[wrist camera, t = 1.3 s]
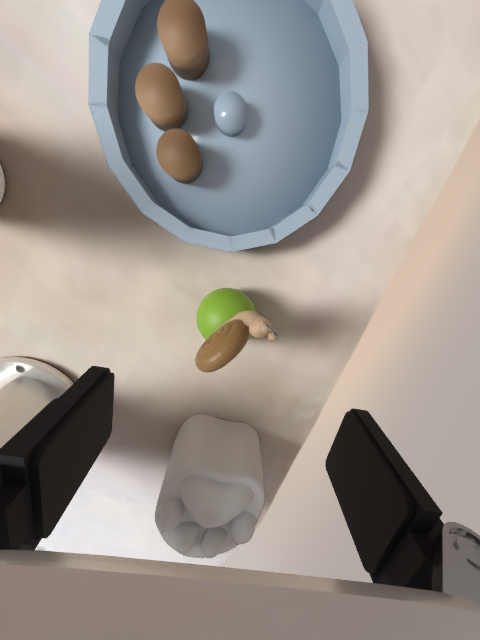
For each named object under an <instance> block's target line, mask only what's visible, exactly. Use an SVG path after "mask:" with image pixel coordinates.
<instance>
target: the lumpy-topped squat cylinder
mask: <svg viewBox="0 0 480 640" xmlns="http://www.w3.org/2000/svg"><path fill="white" fill-rule="evenodd" d="M264 502H265V487H264V478H263V469H262V460H261V452H260V443H259V436H258V434H257V432H256V430H255V429H254V428H253V427H252V426H251V425H249V424H246V423H241V422H231V421H225V420H222V419H219V418H216V417H214V416H211V415H206V414H198V415H195V416H192V417H190V418H189V419H187V420H186V421H185V422H184V423H183V424H182V426H181V427H180V429H179V432H178V434H177V437H176V439H175V442H174V445H173V449H172V452H171V456H170V459H169V463H168V466H167V470H166V473H165V477H164V480H163V484H162V487H161V491H160V494H159V498H158V502H157V506H156V512H155V522H156V525H157V527H158V530H159V532H160V534H161V535H162V537H163V539H164V540H165V542H166V543H167V544H168V545H169V546H170V547H172V548H173V549H174V550H176V551H177V552H179V553H180V554H182V555H185V556H188V557H196V558H204V557H205V558H213V557H215V556H216V555H218V554H221V553H224V552H227V551H229V550H230V549H232V548H234V547H236V546H237V545H239V544H245V543H247V542H248V541H249V540H250V539H251V537H252V535H253V533H254V530H255V525H256V523H257V521H258V519H259V517H260V514H261V511H262V508H263V505H264Z"/></svg>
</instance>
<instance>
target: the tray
mask: <svg viewBox="0 0 480 640" xmlns="http://www.w3.org/2000/svg"><path fill="white" fill-rule="evenodd" d="M165 1H166V0H102V1H101V3H100V6H99V9H98V11H97V14H96V17H95V19H94V22H93V25H92V27H91V30H90V33H89V107H90V110H91V114H92V117H93V120H94V123H95V126H96V129H97V133H98V136H99V139H100V142H101V145H102V148H103V151H104V155H105V158H106V161H107V164H108V167H109V168H110V170H111V171H112V172H113V174H114V175H115V177H116V178H117V179H118V181H119V182H120V183H121V185H122V186H123V188H124V189H125V190H126V192H127V193H128V194H129V196H130V197H131V199H132V200H133V201H134V203H135V204H136V205H137V207H138V208H139V210H140V211H141V212H142V214H144V215H145V216H147V217H148V218H150V219H151V220H153V221H154V222H156V223H157V224H159V225H160V226H161V227H163V228H164V229H166V230H167V231H169V232H170V233H172V234H173V235H175V236H176V237H178V238H179V239H181V240H182V241H184V242H186V243H191V244H195V245H200V246H205V247H209V248H214V249H219V250H223V251H228V252H234V251H239V250H244V249H249V248H254V247H259V246H264V245H269V244H274V243H277V242H279V241H280V240H282V239H283V238H285V237H286V236H288V235H289V234H291V233H292V232H294V231H295V230H297V229H298V228H300V227H301V226H303V225H304V224H306V223H307V222H309V221H310V220H312V219H313V218H315V217H316V216H318V214H319V213H320V212H321V210H322V209H323V207H324V206H325V205H326V203H327V202H328V201H329V199H330V198H331V196H332V195H333V194H334V192H335V191H336V189H337V188H338V187H339V185H340V184H341V183H342V181H343V180H344V178H345V177H346V176H347V174H348V173H349V172H350V169H351V166H352V163H353V160H354V156H355V153H356V150H357V147H358V143H359V140H360V137H361V134H362V131H363V127H364V124H365V121H366V118H367V114H368V111H369V98H368V40H367V38H366V35H365V32H364V29H363V27H362V24H361V21H360V18H359V16H358V13H357V10H356V7H355V4H354V2H353V0H194V1H195V2H196V3H197V4H198V6H199V7H200V9H201V11H202V13H203V16H204V19H205V24H206V31H207V38H208V45H209V53H210V58H209V64H208V67H207V69H206V71H205V73H204V74H203V75H202V76H201V77H200V78H198V79H196V80H184V79H182V78H180V77H179V76H178V75H177V74H176V73H175V72H174V71H173V69H172V68H171V66H170V63H169V61H168V58H167V56H166V53H165V50H164V48H163V45H162V43H161V40H160V38H159V34H158V28H157V20H158V14H159V11H160V8H161V6H162V5H163V3H164V2H165ZM150 63H161V64H164V65H166V66H167V67H169V68H170V69H171V70H172V71H173V72H174V74H175V75H176V77H177V79H178V81H179V84H180V86H181V89H182V92H183V94H184V97H185V100H186V103H187V109H188V112H187V118H186V121H185V123H184V125H183V126H182V127H181V128H180V129H181V130H184V131H186V132H187V133H189V134H190V135H191V136H192V137H193V139H194V140H195V142H196V144H197V146H198V149H199V151H200V153H201V156H202V160H203V168H202V172H201V174H200V176H199V177H198V178H197V179H196V180H195V181H194V182H192V183H188V184H183V183H179V182H177V181H176V180H174V179H173V178H172V177H171V176H169V175H168V174H167V173H166V172H165V171H164V170H163V169H162V168H161V166H160V164H159V162H158V159H157V155H156V147H157V143H158V140H159V138H160V137H161V135H162V134H163V133H164V131H162V130H160V129H158V128H157V127H156V126H155V125H154V124H153V122H152V121H151V120H150V118H149V117H148V116H147V114H146V113H145V112H144V110H143V109H142V108H141V106H140V104H139V102H138V100H137V97H136V92H135V83H136V78H137V76H138V74H139V72H140V70H141V69H142V68H143V67H144V66H146V65H148V64H150Z"/></svg>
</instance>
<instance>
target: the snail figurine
mask: <svg viewBox="0 0 480 640" xmlns="http://www.w3.org/2000/svg"><path fill="white" fill-rule="evenodd" d="M197 325H198V328H199V331H200V333H201V334H202V336H203V337H204V338H205V339H206V341H205V342H204V343H203V345H202V346H201V348H200V349H199V351H198V353H197V355H196V359H195V362H196V366H197V368H198V369H199V370H201V371H202V372H213V371H216V370H218V369H220V368H222V367H223V366H225V365H226V364H228V363H229V362H230V361H231V360H232V359H234V358H235V357H236V356H237V355H238V354H239V352H240V351H241V350H242V349H243V347H244V346H245V345H246V343H247V341H248V339H249V338H250V337H251V335H252V336H253V337H255V338H263V337H265V336H267V335H268V339H269V340H270V341H271V342H274V341H276V340H277V335H276V333H274V332H272V331H271V322H270V321H269V320H268V319H267V318H266V317H264V316H261V315H260V314H258V313H256V309H255V306H254V304H253V303H252V301H251V300H250V299H249V297H248V296H246V295H245V294H244V293H242V292H241V291H238V290H236V289H231V288H223V289H218V290H215V291H213V292H211V293H210V294H208V295H207V296H206V297H205V298H204V299H203V301H202V302H201V304H200V306H199V308H198V312H197ZM270 331H271V332H270Z"/></svg>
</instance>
